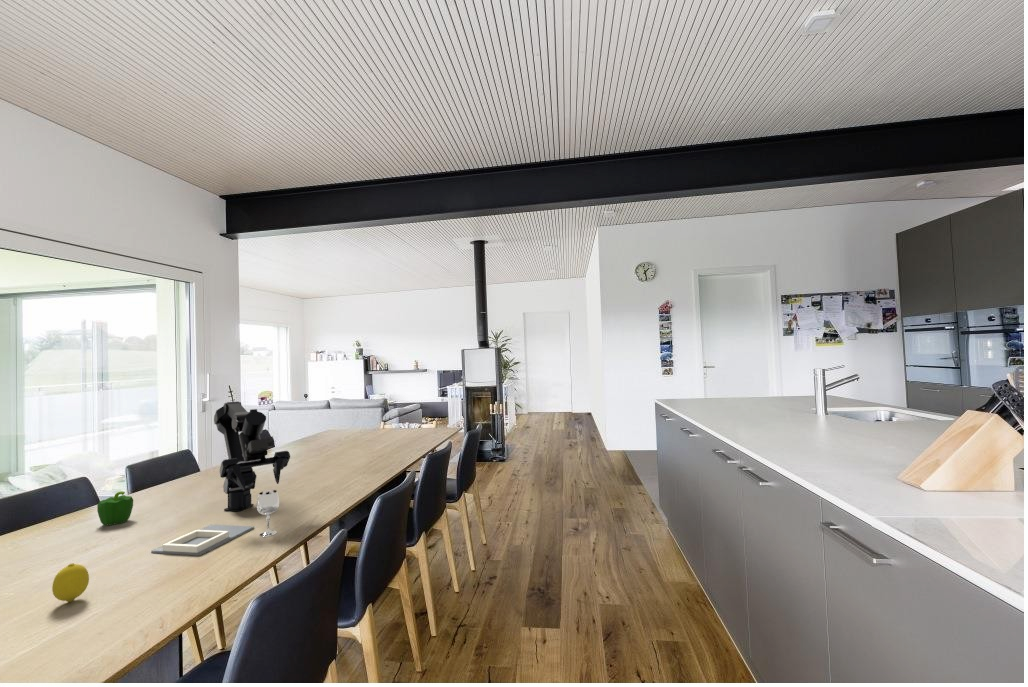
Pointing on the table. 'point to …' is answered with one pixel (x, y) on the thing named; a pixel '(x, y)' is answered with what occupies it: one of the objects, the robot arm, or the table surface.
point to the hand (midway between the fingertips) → (261, 486)
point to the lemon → (70, 582)
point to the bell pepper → (115, 509)
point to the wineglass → (267, 507)
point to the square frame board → (202, 540)
